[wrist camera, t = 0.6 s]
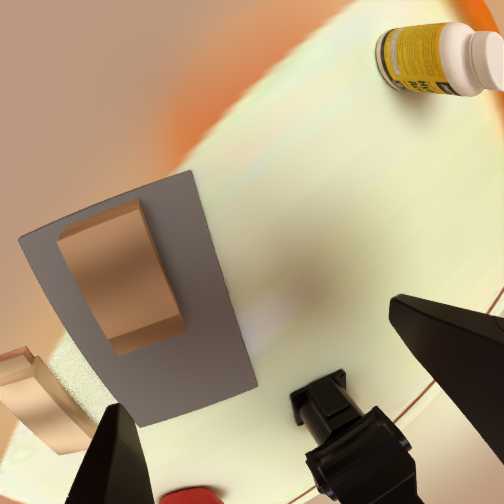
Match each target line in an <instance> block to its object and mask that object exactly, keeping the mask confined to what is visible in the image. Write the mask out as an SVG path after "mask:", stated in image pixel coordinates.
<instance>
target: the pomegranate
mask: <svg viewBox="0 0 504 504" xmlns="http://www.w3.org/2000/svg"><path fill="white" fill-rule="evenodd" d="M159 504H224V502H222V501H221V500H220V499H218V498H217V496H216V495H215V494H214V493H213V492H212V491H210V490H208V489H206V488H192V489H188V490H182V491H179V492H176V493H172V494H168V495H167V496H165V497H164V498H162V500H161V501H160V503H159Z"/></svg>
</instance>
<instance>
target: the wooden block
mask: <svg viewBox="0 0 504 504" xmlns="http://www.w3.org/2000/svg"><path fill="white" fill-rule="evenodd" d="M57 244H58V246H59V249H60V251H61V253H62V255H63V257H64V259H65V261H66V264H67V266H68V268H69V270H70V272H71V274H72V276H73V278H74V280H75V282H76V284H77V286H78V287H79V289H80V291H81V293H82V295H83V297H84V299H85V301H86V302H87V304H88V306H89V308H90V310H91V311H92V313H93V315H94V317H95V319H96V320H97V322H98V324H99V325H100V327H101V329H102V331H103V332H104V334H105V336H106V337H107V339H108V340H109V342H110V344H111V345H112V347H113V349H114V350H115V352H116V353H117V355H118V356H119V355H122V354H125V353H128V352H131V351H134V350H137V349H140V348H143V347H146V346H149V345H152V344H154V343H157V342H160V341H163V340H166V339H168V338H171V337H174V336H177V335H180V334H182V333H185V332H188V331H187V327H186V324H185V322H184V320H183V317H182V315H181V313H180V310H179V308H178V305H177V301H176V298H175V294H174V291H173V289H172V286H171V284H170V281H169V279H168V277H167V274H166V271H165V269H164V266H163V264H162V261H161V259H160V256H159V253H158V251H157V248H156V246H155V243H154V240H153V237H152V235H151V232H150V229H149V227H148V224H147V221H146V218H145V215H144V213H143V210H142V207H141V204H140V201H139V198H137V199H134V200H131V201H129V202H126V203H123V204H121V205H118V206H116V207H113V208H110V209H108V210H105V211H103V212H100V213H98V214H95V215H93V216H90V217H88V218H85V219H83V220H80V221H78V222H76V223H73V224H71V225H68V226H66V227H65V228H64V229H63V231H62V233H61V235H60V236H59V238H58V240H57Z"/></svg>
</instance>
